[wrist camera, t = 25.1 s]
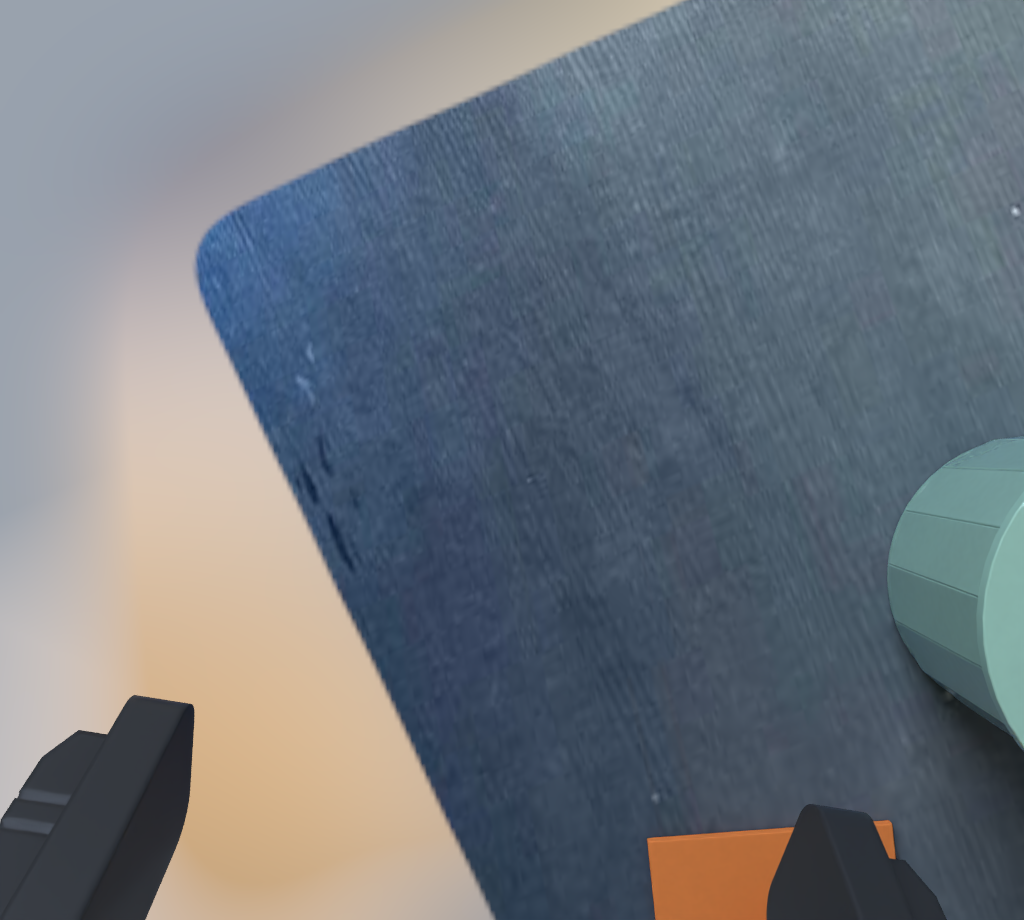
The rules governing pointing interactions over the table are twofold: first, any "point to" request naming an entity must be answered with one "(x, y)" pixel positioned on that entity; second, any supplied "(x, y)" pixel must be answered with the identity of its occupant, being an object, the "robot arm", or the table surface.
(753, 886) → the orange square coaster
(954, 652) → the pot
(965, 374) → the table surface
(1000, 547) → the pot lid
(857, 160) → the table surface
